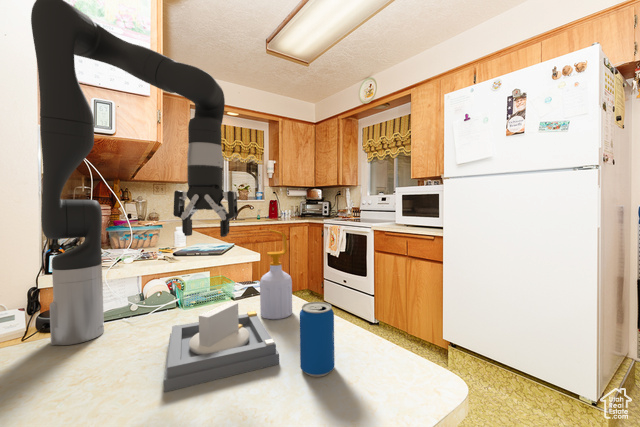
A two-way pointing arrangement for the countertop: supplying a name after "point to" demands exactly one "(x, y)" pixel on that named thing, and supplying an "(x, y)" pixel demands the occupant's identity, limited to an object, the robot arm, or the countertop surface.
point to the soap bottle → (276, 288)
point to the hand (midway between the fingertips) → (206, 236)
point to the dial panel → (217, 355)
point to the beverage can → (317, 339)
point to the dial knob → (219, 331)
